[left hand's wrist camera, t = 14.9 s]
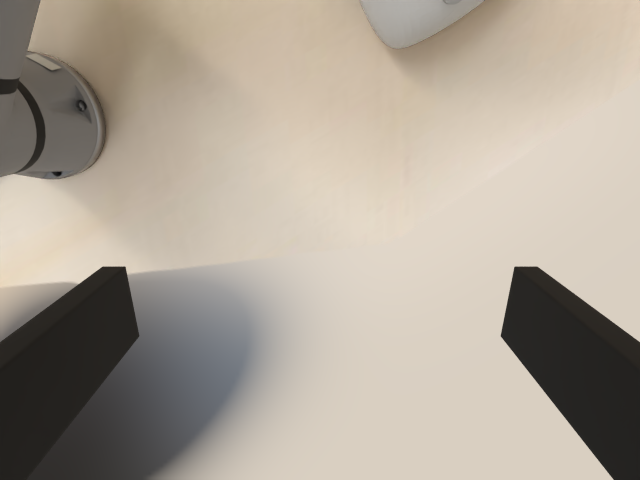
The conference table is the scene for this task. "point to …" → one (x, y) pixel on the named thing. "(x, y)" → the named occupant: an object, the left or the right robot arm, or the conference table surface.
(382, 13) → the projector
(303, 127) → the conference table surface
